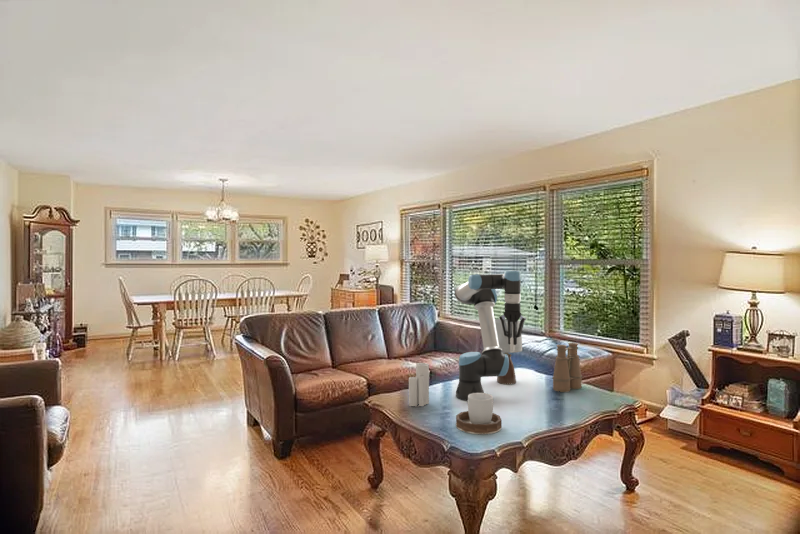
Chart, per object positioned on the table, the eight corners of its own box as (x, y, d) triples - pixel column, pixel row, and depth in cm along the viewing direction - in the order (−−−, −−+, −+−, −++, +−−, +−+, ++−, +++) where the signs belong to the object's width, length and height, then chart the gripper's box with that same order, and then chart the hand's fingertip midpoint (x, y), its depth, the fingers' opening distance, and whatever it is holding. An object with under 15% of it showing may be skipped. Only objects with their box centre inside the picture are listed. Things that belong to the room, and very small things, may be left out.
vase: (421, 400, 247) (421, 362, 246) (432, 403, 242) (432, 364, 241) (406, 405, 239) (406, 366, 238) (417, 408, 234) (417, 368, 233)
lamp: (493, 386, 274) (493, 322, 273) (488, 378, 292) (488, 318, 292) (525, 386, 273) (525, 322, 272) (518, 378, 292) (518, 318, 291)
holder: (447, 428, 206) (447, 419, 206) (467, 415, 222) (467, 407, 222) (491, 437, 195) (491, 428, 195) (508, 423, 212) (508, 415, 211)
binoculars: (563, 393, 259) (563, 347, 259) (548, 389, 267) (548, 345, 267) (585, 387, 271) (586, 343, 271) (570, 383, 279) (570, 341, 279)
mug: (463, 418, 216) (463, 390, 216) (486, 418, 217) (486, 389, 217) (471, 430, 201) (471, 400, 201) (496, 429, 202) (496, 399, 202)
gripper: (496, 302, 227) (496, 351, 228) (523, 303, 220) (523, 354, 221) (502, 301, 234) (502, 348, 234) (528, 302, 227) (528, 351, 227)
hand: (512, 351), depth 227 cm, fingers closed
